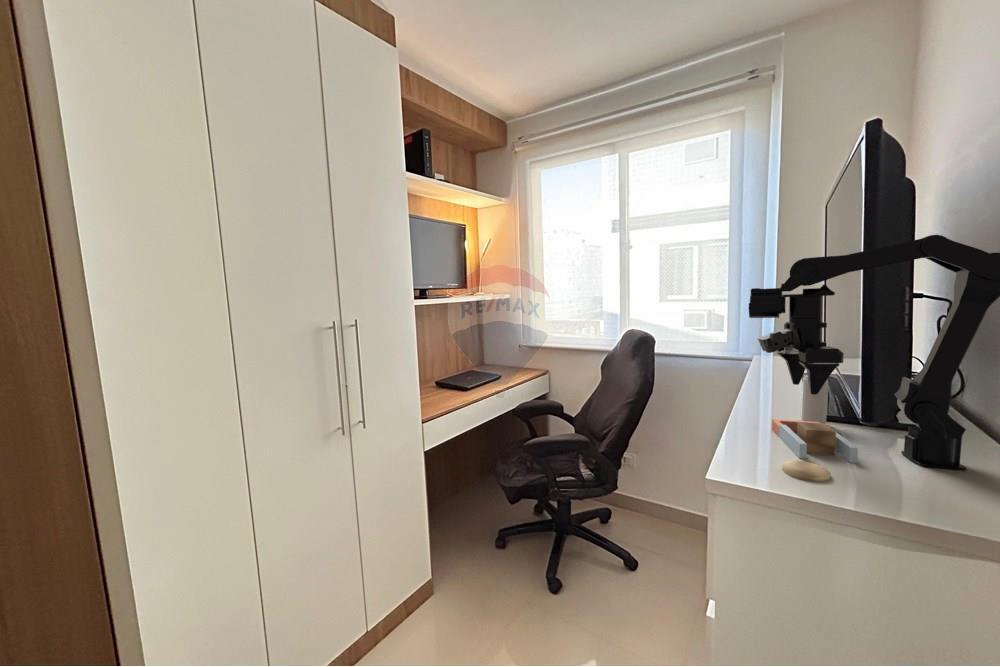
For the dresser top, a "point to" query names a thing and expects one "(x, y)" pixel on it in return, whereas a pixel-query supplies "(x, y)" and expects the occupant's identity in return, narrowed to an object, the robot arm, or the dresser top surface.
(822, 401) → the beverage can
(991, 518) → the dresser top surface
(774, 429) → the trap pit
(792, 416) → the dresser top surface
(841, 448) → the channel
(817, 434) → the walnut block
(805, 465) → the cork coaster
